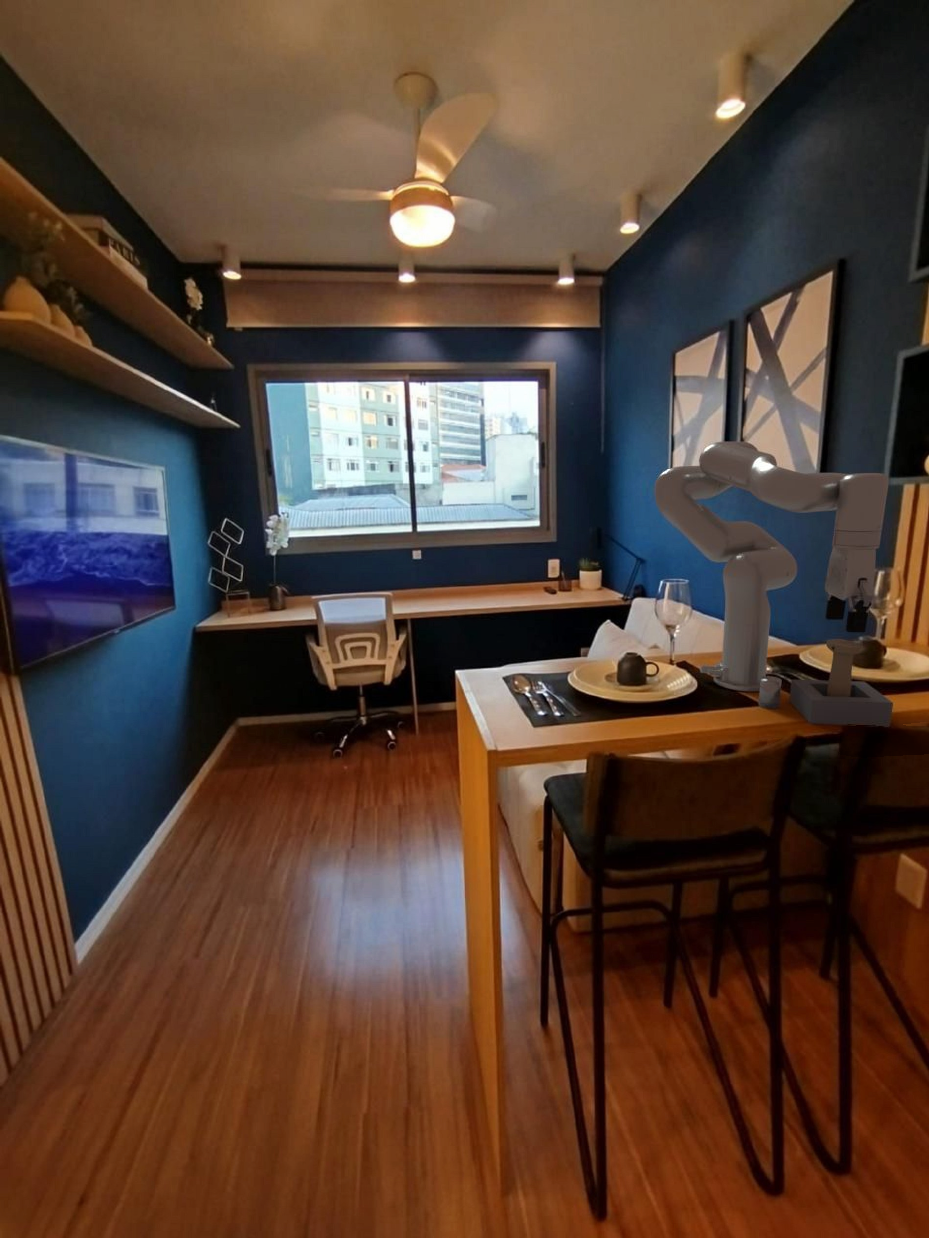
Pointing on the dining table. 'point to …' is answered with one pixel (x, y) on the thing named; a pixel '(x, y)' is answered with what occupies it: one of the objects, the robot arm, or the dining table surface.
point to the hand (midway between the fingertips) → (844, 625)
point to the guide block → (840, 704)
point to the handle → (841, 666)
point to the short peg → (769, 692)
